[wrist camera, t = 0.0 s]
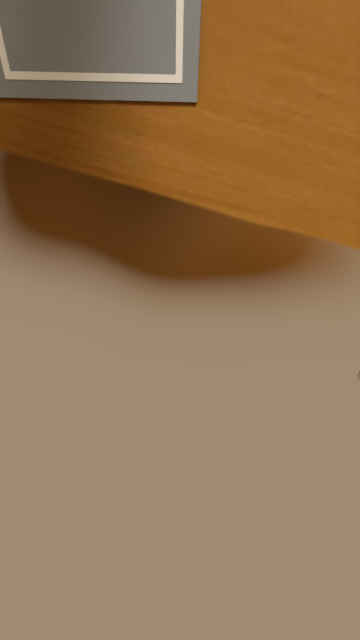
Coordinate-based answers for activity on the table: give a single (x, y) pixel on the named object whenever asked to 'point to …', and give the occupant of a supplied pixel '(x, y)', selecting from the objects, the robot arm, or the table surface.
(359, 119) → the table surface
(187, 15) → the print mat
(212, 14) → the table surface
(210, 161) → the table surface
